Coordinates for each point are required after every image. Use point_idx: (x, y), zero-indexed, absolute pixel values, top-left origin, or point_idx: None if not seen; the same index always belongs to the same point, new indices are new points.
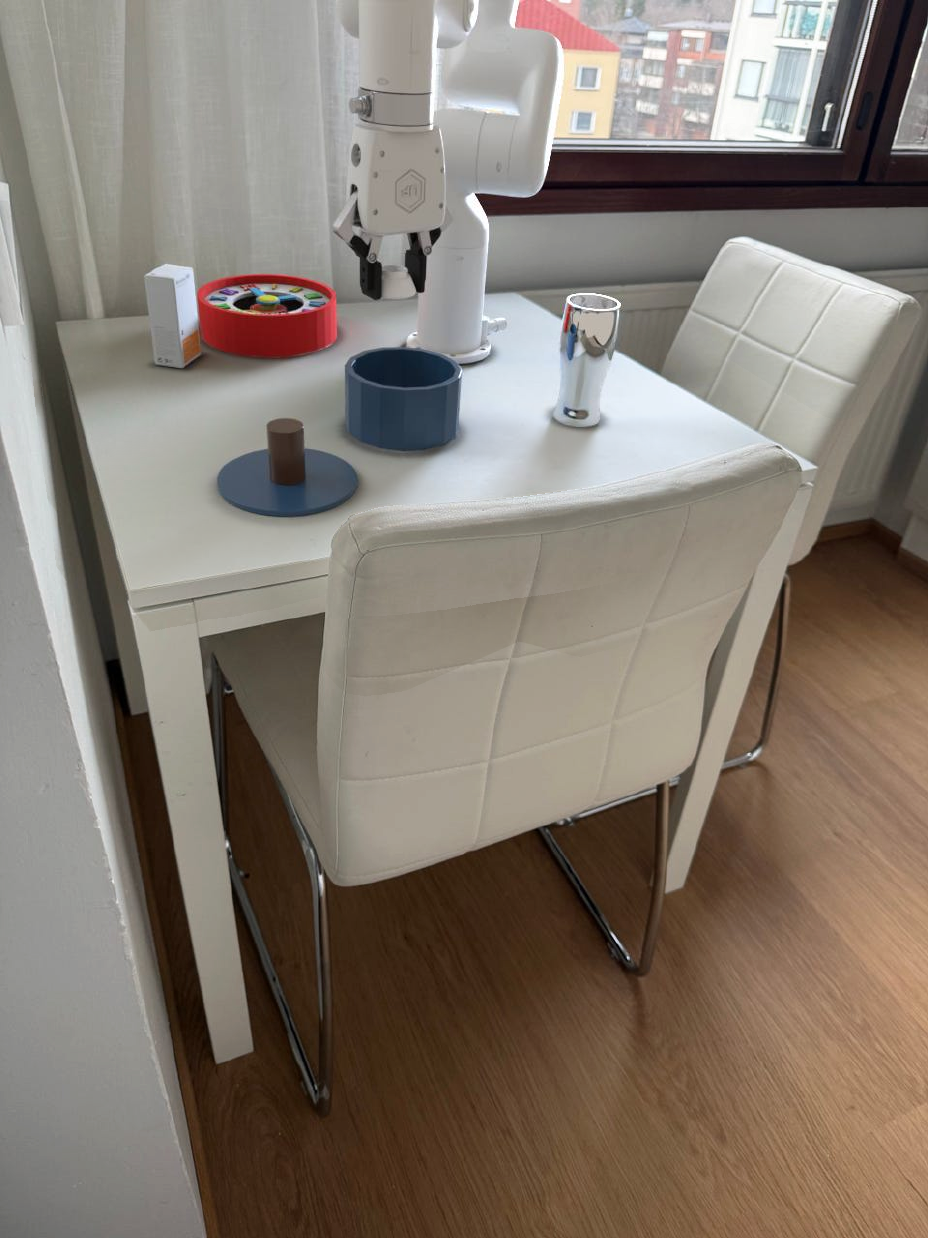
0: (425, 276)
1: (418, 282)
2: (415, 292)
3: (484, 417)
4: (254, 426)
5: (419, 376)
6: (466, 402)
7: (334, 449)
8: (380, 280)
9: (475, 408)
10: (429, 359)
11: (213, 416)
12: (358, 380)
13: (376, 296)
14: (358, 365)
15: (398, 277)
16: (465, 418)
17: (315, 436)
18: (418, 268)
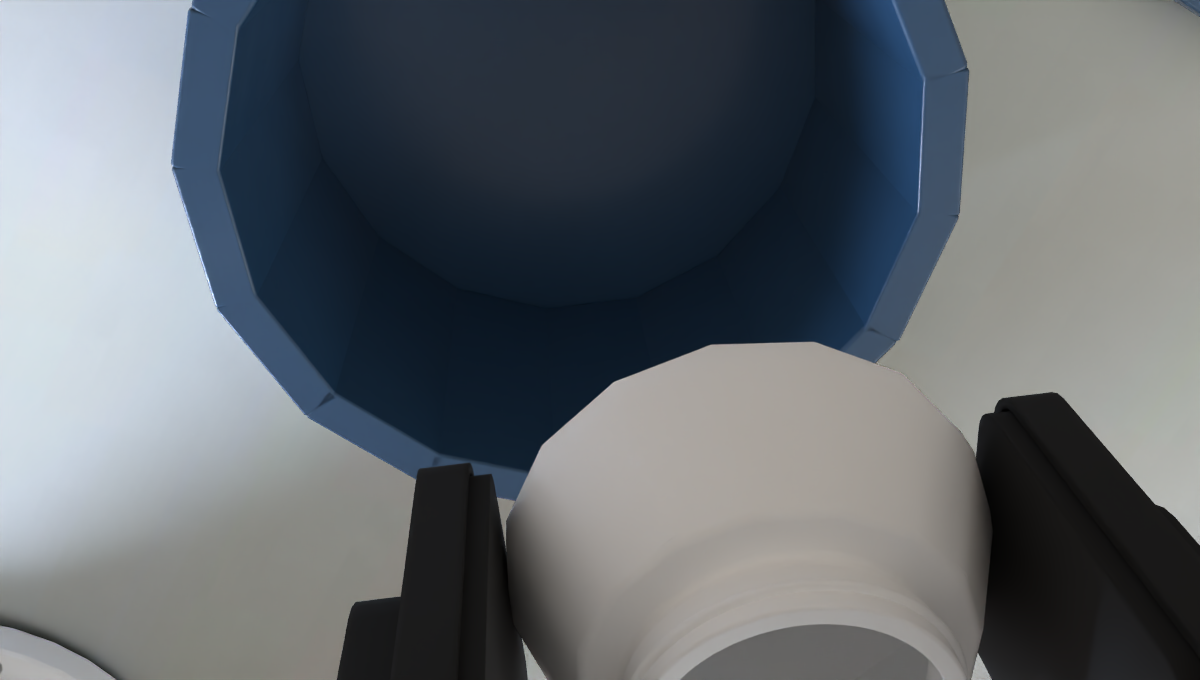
0: (356, 629)
1: (492, 540)
2: (552, 442)
3: (58, 50)
4: (1121, 343)
5: (366, 319)
6: (91, 251)
7: (969, 3)
8: (1108, 510)
9: (68, 170)
10: (308, 329)
11: (1194, 470)
12: (966, 99)
13: (1068, 404)
14: None
15: (816, 562)
16: (172, 78)
17: (964, 166)
18: (490, 673)
